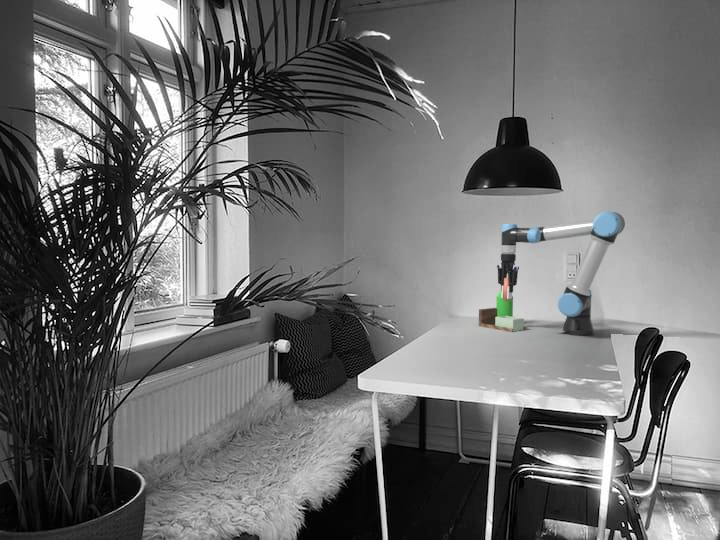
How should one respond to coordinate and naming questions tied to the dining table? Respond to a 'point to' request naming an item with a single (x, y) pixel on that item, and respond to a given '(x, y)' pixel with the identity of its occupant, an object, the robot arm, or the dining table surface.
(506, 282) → the dowel
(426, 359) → the dining table surface
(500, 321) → the socket block
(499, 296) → the bottle
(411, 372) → the dining table surface
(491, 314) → the channel board
